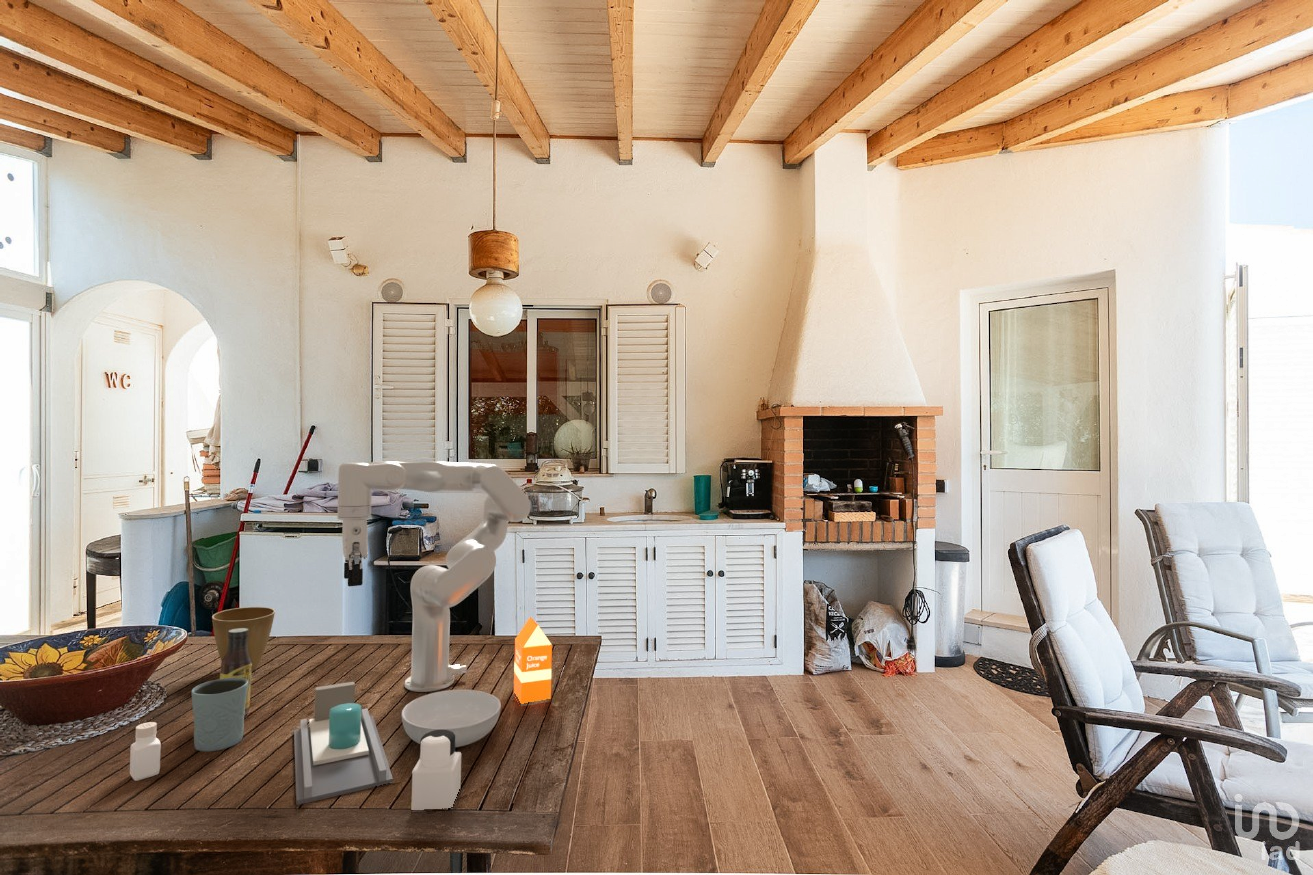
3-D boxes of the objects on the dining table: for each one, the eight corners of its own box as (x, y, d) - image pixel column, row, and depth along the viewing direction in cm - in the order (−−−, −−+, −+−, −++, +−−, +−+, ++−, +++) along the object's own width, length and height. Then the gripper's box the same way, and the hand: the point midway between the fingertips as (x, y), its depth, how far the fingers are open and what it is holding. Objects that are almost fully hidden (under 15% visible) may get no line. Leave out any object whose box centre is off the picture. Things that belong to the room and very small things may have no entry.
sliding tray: (357, 714, 149) (358, 680, 149) (368, 754, 130) (369, 715, 130) (309, 722, 144) (310, 688, 144) (313, 765, 125) (314, 725, 125)
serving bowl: (406, 769, 126) (407, 735, 127) (396, 727, 145) (396, 697, 145) (510, 749, 136) (511, 716, 136) (488, 712, 155) (489, 683, 155)
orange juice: (520, 707, 158) (522, 626, 158) (513, 694, 166) (515, 617, 166) (551, 702, 161) (553, 623, 161) (542, 690, 169) (544, 614, 169)
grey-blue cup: (202, 757, 129) (204, 698, 130) (180, 744, 135) (182, 687, 135) (255, 738, 138) (257, 683, 138) (232, 727, 143) (234, 673, 144)
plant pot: (199, 681, 170) (201, 621, 170) (223, 662, 184) (225, 607, 185) (262, 677, 173) (264, 618, 174) (280, 659, 188) (282, 605, 188)
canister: (358, 733, 138) (359, 701, 138) (361, 745, 132) (362, 711, 132) (327, 739, 134) (328, 706, 135) (329, 751, 129) (330, 716, 129)
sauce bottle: (233, 722, 146) (236, 635, 146) (210, 719, 147) (213, 633, 147) (256, 711, 152) (259, 627, 152) (234, 708, 153) (237, 625, 154)
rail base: (372, 719, 149) (373, 707, 149) (392, 782, 121) (393, 767, 121) (294, 733, 141) (294, 720, 141) (296, 804, 113) (296, 789, 113)
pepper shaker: (154, 767, 125) (156, 719, 125) (160, 774, 123) (162, 724, 123) (128, 775, 122) (130, 725, 122) (134, 782, 119) (135, 731, 120)
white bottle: (421, 790, 119) (423, 725, 119) (460, 789, 120) (462, 725, 120) (410, 812, 112) (412, 743, 112) (451, 811, 113) (453, 742, 113)
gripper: (375, 515, 152) (374, 587, 152) (366, 508, 167) (365, 574, 167) (340, 516, 149) (339, 590, 148) (334, 509, 163) (333, 576, 163)
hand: (352, 581), depth 158 cm, fingers open, 9 cm apart
